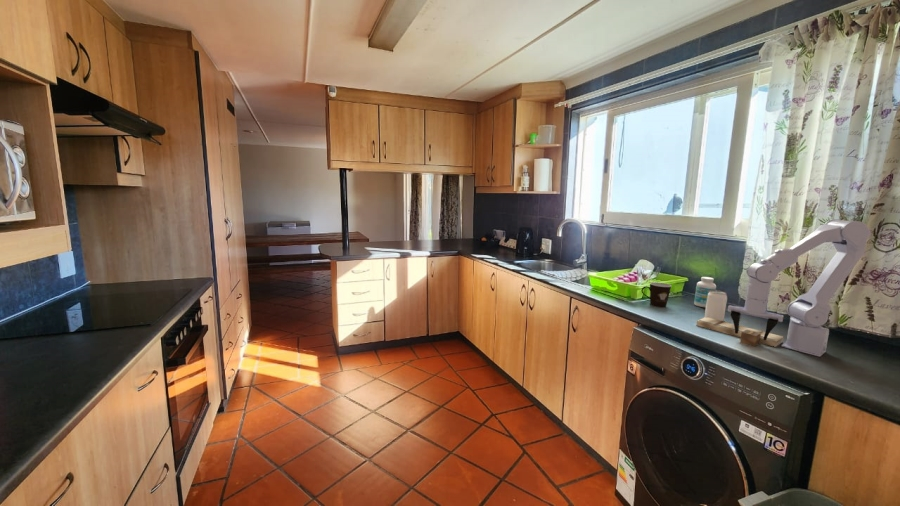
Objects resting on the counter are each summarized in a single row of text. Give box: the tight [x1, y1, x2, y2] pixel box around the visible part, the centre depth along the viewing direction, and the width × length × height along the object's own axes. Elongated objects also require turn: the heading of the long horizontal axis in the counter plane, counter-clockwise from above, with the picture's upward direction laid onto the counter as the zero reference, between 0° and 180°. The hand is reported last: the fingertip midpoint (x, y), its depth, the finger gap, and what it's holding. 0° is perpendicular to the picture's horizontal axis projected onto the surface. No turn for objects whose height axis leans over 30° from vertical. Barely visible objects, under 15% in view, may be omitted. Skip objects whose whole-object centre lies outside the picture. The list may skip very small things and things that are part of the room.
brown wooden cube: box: [739, 330, 761, 348], centre depth 125 cm, size 4×5×4 cm
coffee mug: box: [640, 281, 672, 309], centre depth 168 cm, size 12×9×10 cm
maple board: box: [696, 316, 784, 348], centre depth 134 cm, size 24×8×2 cm, turn 34°
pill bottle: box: [693, 276, 717, 309], centre depth 167 cm, size 8×7×14 cm
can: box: [704, 289, 728, 321], centre depth 148 cm, size 6×6×12 cm
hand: (750, 336), depth 125 cm, fingers open, 7 cm apart
